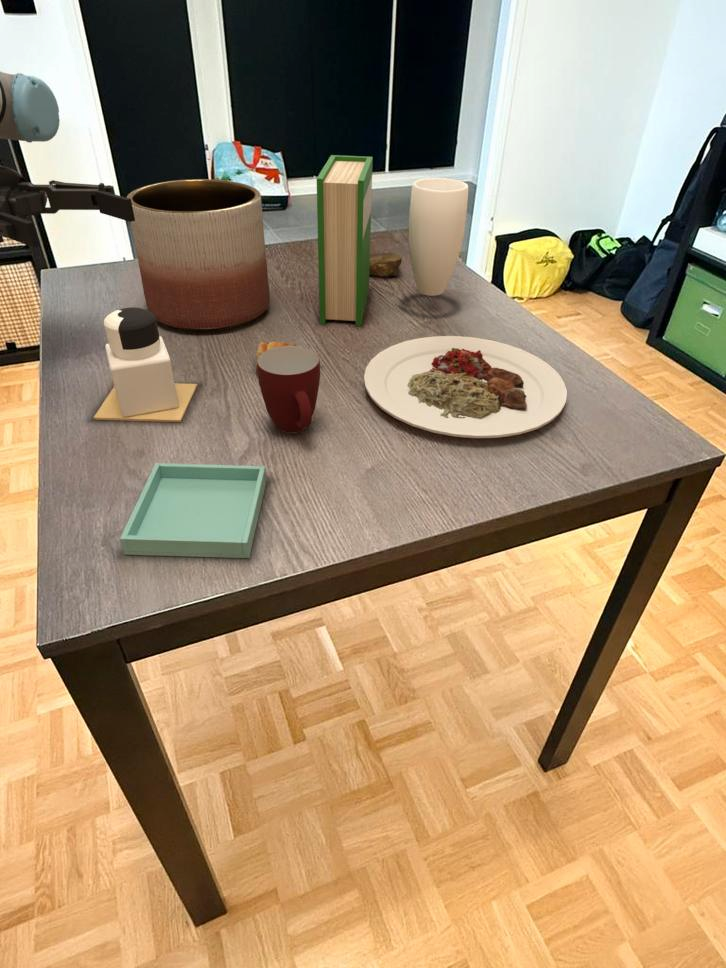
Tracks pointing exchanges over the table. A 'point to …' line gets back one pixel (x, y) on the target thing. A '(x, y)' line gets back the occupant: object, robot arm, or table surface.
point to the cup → (436, 231)
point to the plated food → (465, 387)
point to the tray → (196, 511)
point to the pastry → (269, 347)
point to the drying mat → (113, 412)
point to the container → (139, 362)
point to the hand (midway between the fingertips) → (85, 222)
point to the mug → (289, 385)
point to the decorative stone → (384, 264)
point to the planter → (201, 253)
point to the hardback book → (344, 237)
